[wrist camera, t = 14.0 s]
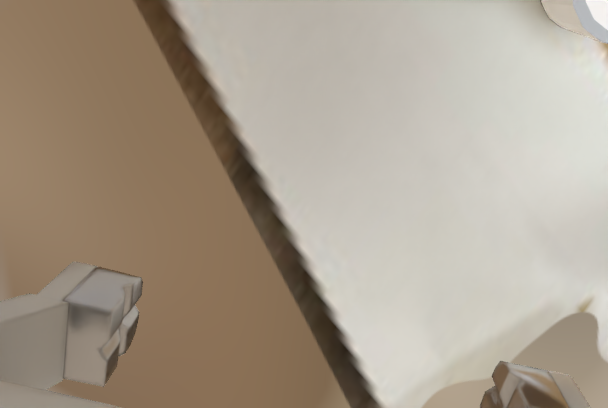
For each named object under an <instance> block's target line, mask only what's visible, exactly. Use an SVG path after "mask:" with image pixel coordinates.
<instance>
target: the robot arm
mask: <svg viewBox="0 0 608 408" xmlns="http://www.w3.org/2000/svg"><path fill="white" fill-rule="evenodd" d="M142 284H143V281H142V278H141V277H138V276H134V275H130V274H126V273H122V272H118V271H114V270H110V269H106V268H102V267H97V266H95V265H90V264H86V263H80V262H72V263H71V264H70V265H69V266H68V267H66V268H65V269H64V270H63V271H62V272H61V273H60V274H59V275H58V276H57V277H56V278H54V279H53V280H52V281H51V282H50V283H49V284H48V285H47V286H46V287H45V288H43V289H42V290H41V291H40V292H39V293H38V294H37V295H34V294H26V295H22V296H18V297H15V298H11V299H7V300H3V301H0V408H122V407H117V406H113V405H109V404H104V403H100V402H96V401H91V400H87V399H82V398H78V397H74V396H69V395H65V394H61V393H56V392H52V391H47V390H46V389H48V388H50V387H52V386H54V385H55V384H57V383H59V382H61V381H63V379H68V380H73V381H78V382H84V383H88V384H93V385H99V386H103V387H104V386H105V384H106V383H107V381H108V379H109V378H110V376H111V375H112V373H113V372H114V370H115V369H116V367H117V361H118V356H120V355H123V354H125V353H126V351H127V350H128V348H129V346H130V344H131V342H132V340H133V337H134V334H135V331H136V327H137V323H138V317H139V311H138V310H137V308H136V306H135V304H136V302H137V301H138V299H139V298H140V297H141V295H142ZM492 378H493V381H494V383H495V386H494V387H492V388H491V389H489V390H487V391H486V392H485V394H484V396H483V399H482V402H481V404H480V408H591V407H590V405H589V404H588V402H587V400H586V399H585V397H584V396H583V394H582V392H581V391H580V389H579V388H578V387H577V384H576V383H575V381H574V380H573V378H572V377H571V376H569V375H568V374H564V373H558V372H553V371H548V370H542V369H538V368H533V367H528V366H523V365H518V364H513V363H508V362H503V361H500V362H499V363H498V365H497V366H496V367H495V370H494V372H493V374H492Z"/></svg>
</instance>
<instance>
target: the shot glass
mask: <svg viewBox="0 0 608 408" xmlns="http://www.w3.org/2000/svg"><path fill="white" fill-rule="evenodd" d="M541 3H542V5H543V7H544V9H545V11H546V13H547V15H548V17H549V18H550V19H551V20H552V21H554V22H555V23H556V24H558V25H559V26H560V27H562V28H564V29H567V30H570V31H572V32H575V33H578V34H580V35H583V36H586V37H589V38H591V39H594V40H597V41H599V42H603V43H607V44H608V0H541Z"/></svg>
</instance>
